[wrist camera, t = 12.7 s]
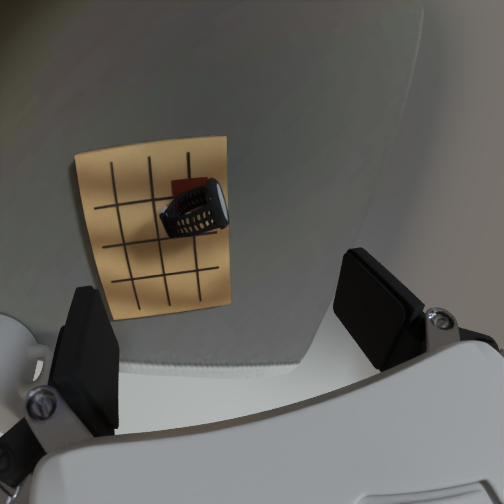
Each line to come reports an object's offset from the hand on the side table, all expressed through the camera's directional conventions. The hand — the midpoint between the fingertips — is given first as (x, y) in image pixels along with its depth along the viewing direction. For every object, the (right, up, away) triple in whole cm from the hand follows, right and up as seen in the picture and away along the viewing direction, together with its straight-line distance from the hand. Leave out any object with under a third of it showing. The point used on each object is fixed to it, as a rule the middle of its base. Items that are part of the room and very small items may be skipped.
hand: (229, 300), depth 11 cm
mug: (-23, -14, +5) cm, 27 cm away
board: (-7, +3, +14) cm, 16 cm away
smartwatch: (-4, +6, +12) cm, 14 cm away
